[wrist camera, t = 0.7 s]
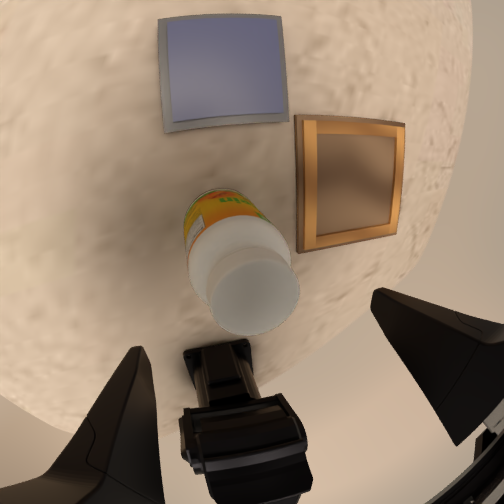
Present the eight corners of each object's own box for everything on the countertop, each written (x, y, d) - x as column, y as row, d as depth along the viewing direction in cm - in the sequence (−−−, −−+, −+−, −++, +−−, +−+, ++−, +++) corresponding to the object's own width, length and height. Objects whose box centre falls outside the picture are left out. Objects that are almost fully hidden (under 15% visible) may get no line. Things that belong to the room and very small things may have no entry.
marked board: (393, 232, 25) (398, 235, 24) (296, 251, 23) (300, 255, 22) (402, 123, 20) (407, 123, 19) (294, 114, 18) (298, 114, 17)
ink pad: (281, 121, 18) (292, 121, 16) (165, 132, 16) (164, 133, 14) (274, 22, 14) (284, 13, 12) (158, 26, 12) (157, 16, 11)
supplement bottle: (268, 203, 20) (336, 266, 12) (237, 265, 22) (279, 353, 13) (201, 175, 18) (226, 222, 9) (172, 243, 19) (176, 335, 11)
